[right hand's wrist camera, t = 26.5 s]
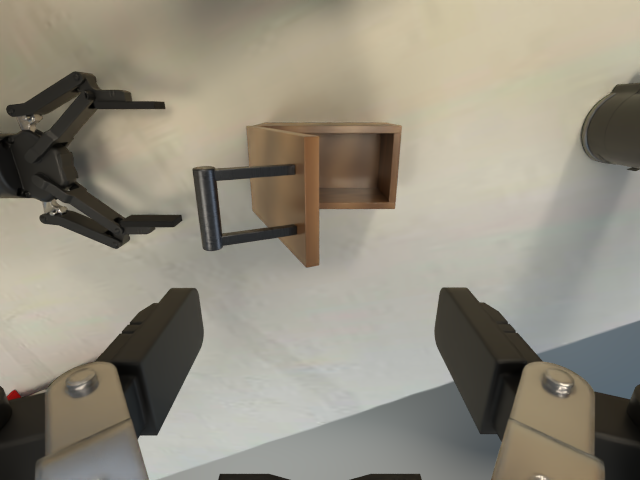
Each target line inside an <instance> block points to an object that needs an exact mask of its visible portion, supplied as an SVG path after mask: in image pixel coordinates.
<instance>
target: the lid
mask: <svg viewBox="0 0 640 480" xmlns="http://www.w3.org/2000/svg"><path fill="white" fill-rule="evenodd" d="M247 141H248V154H249V167H234V168H218V169H215V168H214V167H211V166H202V167H195V168H193V177H194V185H195V192H196V200H197V207H198V215H199V223H200V230H201V238H202V245H203V249H204V250H206V251H216V250H219V249H221V248H223V246H224V245H231V244H238V243H245V242H251V241H258V240H265V239H272V238H279V239H280V240H281V241H282V242H283V243H284V245H285V246H286V247H287V248H288V249H289V250H290V251H291V252H292V253H293V254H294V255H295V256H296V257H297V258H298V259H299V260H300V262H301V263H302V264H303V265H304V266H305V267H312V266H317V265H319V136H315V135H309V134H302V133H296V132H290V131H284V130H278V129H272V128H265V127H259V126H247ZM246 178H250V182H251V195H252V209H253V212H254V213H255V214H256V215H257V216H258V217H259V218H260V219H261V220H262V221H263V222H264V223H265V224H266V225H267V227H268V228H260V229H253V230H245V231H238V232H231V233H223V234H222V228H221V218H220V209H219V200H218V191H217V182H216V181H220V180H233V179H246Z"/></svg>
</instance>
